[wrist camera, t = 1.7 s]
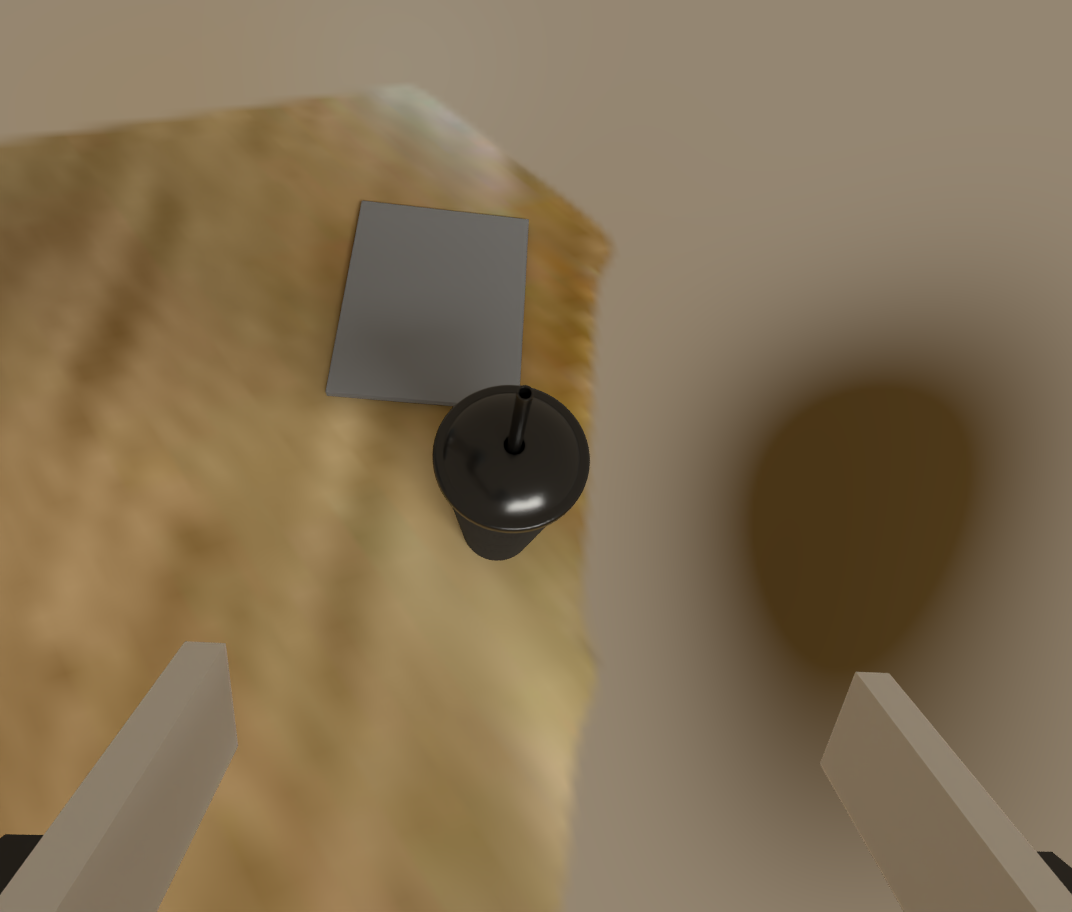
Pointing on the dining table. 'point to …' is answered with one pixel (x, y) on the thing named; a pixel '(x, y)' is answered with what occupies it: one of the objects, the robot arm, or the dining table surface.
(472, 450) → the drinking cup
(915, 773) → the robot arm
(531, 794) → the dining table surface
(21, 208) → the dining table surface
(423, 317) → the placemat
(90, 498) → the dining table surface
